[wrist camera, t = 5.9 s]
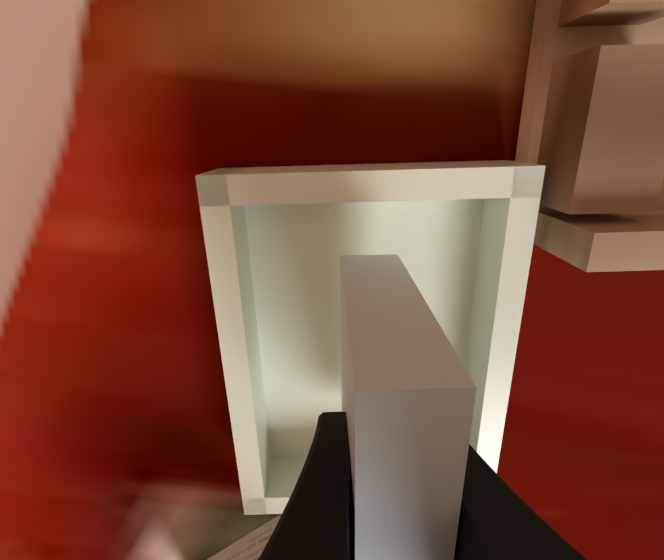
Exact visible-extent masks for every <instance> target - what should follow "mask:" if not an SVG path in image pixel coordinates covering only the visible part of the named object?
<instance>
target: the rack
mask: <svg viewBox="0 0 664 560" xmlns="http://www.w3.org/2000/svg"><path fill="white" fill-rule="evenodd" d="M561 3H562V0H536V6H535V13H534V21H533V29H532V36H531V44H530V51H529V59H528V66H527V74H526V81H525V89H524V97H523V104H522V112H521V119H520V127H519V134H518V142H517V149H516V157H515V161H517V162H524V163H531V164H537V161H538V155H539V148H540V142H541V135H542V128H543V122H544V115H545V109H546V102H547V95H548V89H549V82H550V76H551V69H552V63H553V61H555V60H558V59H561V58H564V57H567V56H570V55H573V54H576V53H580V52H583V51H586V50H589V49H592V48H595V47H598V46H601V45H634V44H664V17H661V18H659V19H656V20H653V21H650V22H647V23H644V24H641V25H611V26H575V27H558V23H559V16H560V10H561ZM533 244H534V245H536V246H538V247H540V248H542V249H544V250H546V251H547V252H549V253H551V254H553V255H555V256H557V257H559V258H561V259H563V260H564V261H566V262H568V263H570V264H572V265H574V266H576V267H578V268H580V269H581V270H583V271H585V272H607V271H642V270H664V178H663V182H662V186H661V190H660V194H659V197H658V201H657V205H656V209H655V212H639V213H604V214H566V213H563V212H560V211H557V210H554V209H551V208H548V207H545V206H542V205H539V211H538V217H537V224H536V230H535V236H534V242H533Z"/></svg>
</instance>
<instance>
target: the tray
mask: <svg viewBox="0 0 664 560" xmlns="http://www.w3.org/2000/svg"><path fill="white" fill-rule="evenodd" d="M545 167H546V166H545V165H538V164H531V163H524V162H517V161H509V160H486V161H451V162H415V163H380V164H345V165H309V166H274V167H238V168H218V169H215V170H211V171H208V172H205V173H202V174H198V175H195V178H196V185H197V192H198V199H199V206H200V213H201V220H202V227H203V233H204V240H205V247H206V254H207V261H208V268H209V275H210V282H211V289H212V296H213V302H214V309H215V316H216V323H217V330H218V337H219V344H220V351H221V358H222V364H223V371H224V378H225V385H226V392H227V399H228V406H229V413H230V420H231V427H232V433H233V440H234V447H235V454H236V461H237V468H238V475H239V482H240V489H241V495H242V502H243V509H244V515H261V514H282V513H283V511H284V509H285V507H286V505H287V503H288V501H289V499H290V497H291V494H292V492H293V490H294V488H295V485H296V483H297V481H298V478H299V476H300V473H301V471H302V468H303V466H304V464H305V461H306V459H307V456H308V453H309V450H310V447H311V444H312V441H313V438H314V435H315V431H316V427H317V422H318V416H319V415H321V414H322V413H323V412H342V396H341V319H340V256H342V255H384V254H398V256H399V257H400V259H401V261H402V262H403V264H404V266H405V267H406V269H407V271H408V272H409V274H410V276H411V278H412V279H413V281H414V283H415V284H416V286H417V288H418V289H419V291H420V293H421V294H422V296H423V298H424V299H425V301H426V303H427V304H428V306H429V308H430V310H431V311H432V313H433V315H434V316H435V318H436V320H437V321H438V323H439V325H440V326H441V328H442V330H443V331H444V333H445V335H446V336H447V338H448V340H449V342H450V343H451V345H452V347H453V348H454V350H455V352H456V353H457V355H458V357H459V358H460V360H461V362H462V363H463V365H464V367H465V368H466V370H467V372H468V374H469V375H470V377H471V379H472V380H473V382H474V384H475V385H476V387H477V389H476V397H475V404H474V412H473V419H472V427H471V434H470V441H469V444H470V445H471V446H472V447H473V448H474V450H475V451H476V452H477V453H478V454H479V455H480V456H481V457H482V459H483V460H484V461H485V462H486V463H487V464H488V465H489V466H490V467H491V468H492V469H493V470H494V471H495V472H496V473H497V468H498V462H499V455H500V449H501V443H502V437H503V430H504V424H505V418H506V412H507V405H508V399H509V393H510V387H511V380H512V374H513V368H514V361H515V355H516V349H517V343H518V336H519V330H520V324H521V318H522V311H523V305H524V299H525V293H526V286H527V280H528V274H529V267H530V261H531V255H532V249H533V242H534V236H535V230H536V224H537V217H538V211H539V205H540V199H541V192H542V186H543V180H544V174H545Z"/></svg>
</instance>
